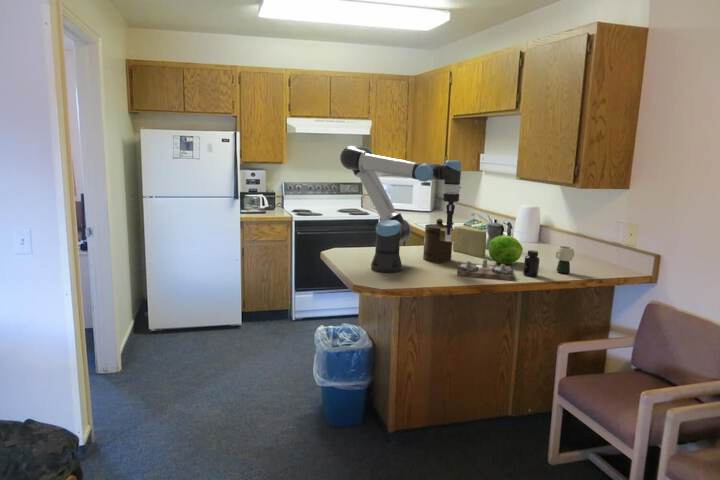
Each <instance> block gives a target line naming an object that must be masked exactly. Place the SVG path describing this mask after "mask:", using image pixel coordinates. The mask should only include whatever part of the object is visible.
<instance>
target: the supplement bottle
mask: <svg viewBox="0 0 720 480" xmlns="http://www.w3.org/2000/svg"><path fill="white" fill-rule="evenodd" d="M538 256H539V251H537V250H532V249H531V250H527V255H526V256H525V257H524V265H523V273H522V274H523V275H524V276H525V277H530V278H536V277H538V276H539V266H540V257H538Z"/></svg>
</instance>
